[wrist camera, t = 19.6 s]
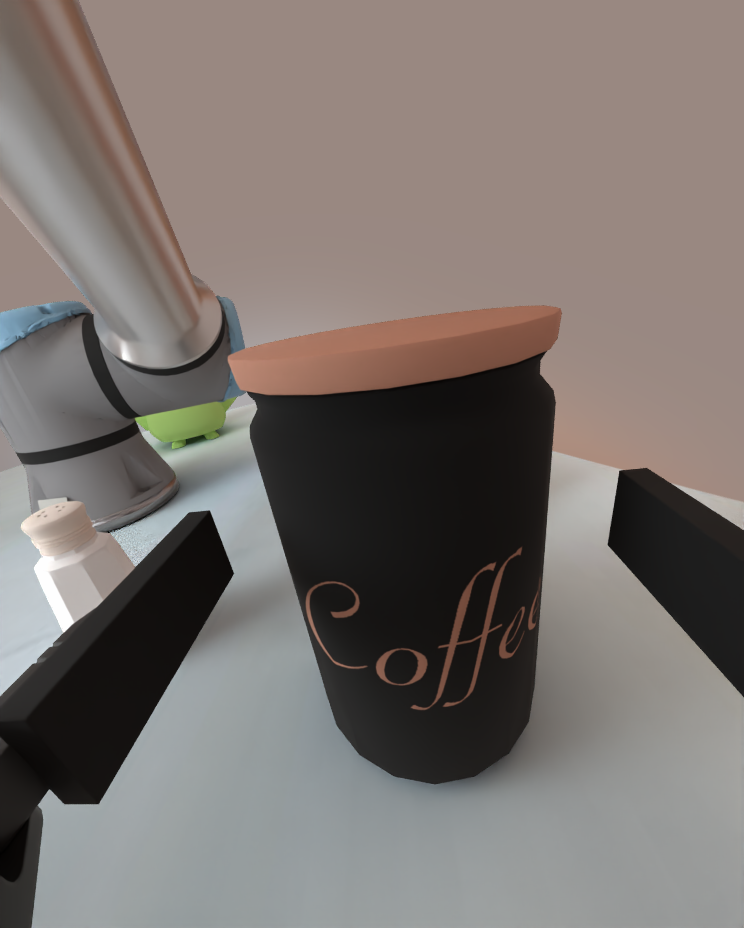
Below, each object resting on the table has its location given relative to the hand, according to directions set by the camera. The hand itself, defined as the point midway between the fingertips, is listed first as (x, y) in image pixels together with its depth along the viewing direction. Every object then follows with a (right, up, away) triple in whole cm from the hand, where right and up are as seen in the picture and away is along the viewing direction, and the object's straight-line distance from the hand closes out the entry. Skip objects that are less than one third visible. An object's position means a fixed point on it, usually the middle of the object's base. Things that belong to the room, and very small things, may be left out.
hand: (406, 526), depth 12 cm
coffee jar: (+2, -10, +8) cm, 13 cm away
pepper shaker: (-17, -11, +12) cm, 24 cm away
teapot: (-37, +7, +58) cm, 69 cm away
